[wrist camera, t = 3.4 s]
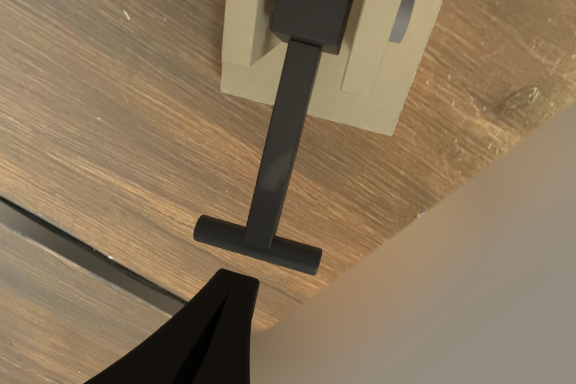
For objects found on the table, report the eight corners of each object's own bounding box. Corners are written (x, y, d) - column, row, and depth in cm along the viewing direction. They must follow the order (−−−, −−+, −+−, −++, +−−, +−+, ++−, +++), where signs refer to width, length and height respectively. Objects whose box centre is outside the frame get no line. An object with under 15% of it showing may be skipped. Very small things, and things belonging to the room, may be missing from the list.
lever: (317, 261, 16) (313, 289, 13) (206, 229, 16) (183, 251, 14) (400, -18, 13) (413, -45, 10) (261, -50, 13) (244, -82, 11)
